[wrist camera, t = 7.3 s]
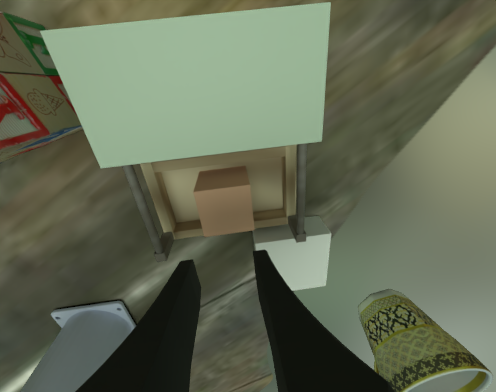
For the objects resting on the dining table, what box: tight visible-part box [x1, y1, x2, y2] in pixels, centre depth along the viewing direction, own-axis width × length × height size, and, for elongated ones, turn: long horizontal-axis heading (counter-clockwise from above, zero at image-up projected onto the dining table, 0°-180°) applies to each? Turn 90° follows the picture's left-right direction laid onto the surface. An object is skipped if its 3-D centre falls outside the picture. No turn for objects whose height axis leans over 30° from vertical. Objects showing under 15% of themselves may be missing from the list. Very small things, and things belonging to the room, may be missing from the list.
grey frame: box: [122, 143, 307, 262], centre depth 16 cm, size 13×13×5 cm
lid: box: [40, 2, 331, 168], centre depth 11 cm, size 6×13×1 cm, turn 96°
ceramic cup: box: [358, 289, 493, 392], centre depth 27 cm, size 13×10×10 cm
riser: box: [252, 216, 331, 291], centre depth 23 cm, size 7×7×3 cm
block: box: [193, 166, 255, 237], centre depth 18 cm, size 4×4×4 cm
